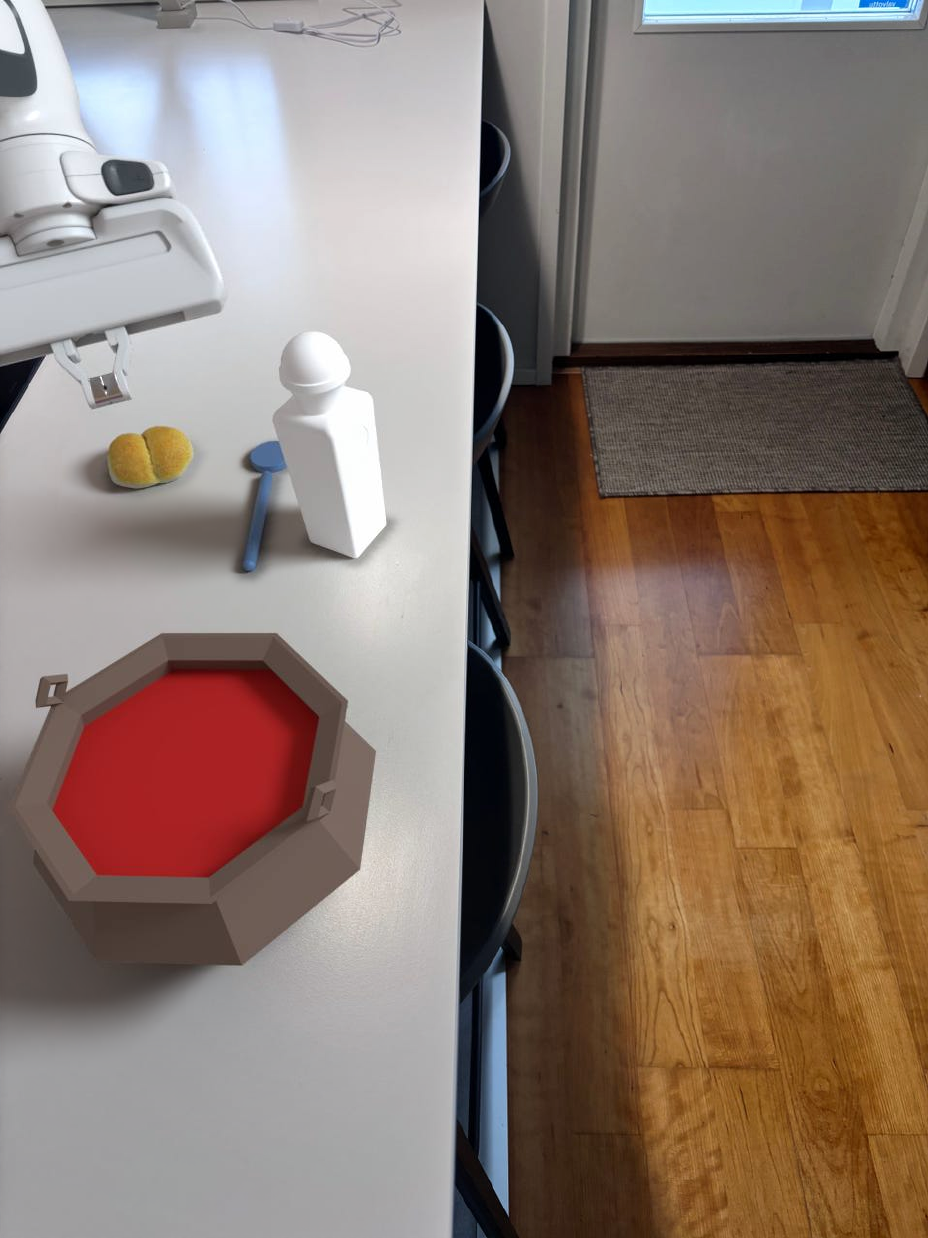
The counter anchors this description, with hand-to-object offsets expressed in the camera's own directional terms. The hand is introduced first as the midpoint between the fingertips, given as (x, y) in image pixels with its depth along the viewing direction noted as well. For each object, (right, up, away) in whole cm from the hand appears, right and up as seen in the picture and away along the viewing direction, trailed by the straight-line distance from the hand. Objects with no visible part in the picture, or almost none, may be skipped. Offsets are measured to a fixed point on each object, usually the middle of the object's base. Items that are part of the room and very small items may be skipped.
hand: (111, 402), depth 67 cm
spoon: (+4, -3, +31) cm, 31 cm away
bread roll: (-9, +1, +36) cm, 37 cm away
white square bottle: (+14, -7, +27) cm, 31 cm away
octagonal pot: (+8, -33, +4) cm, 34 cm away
